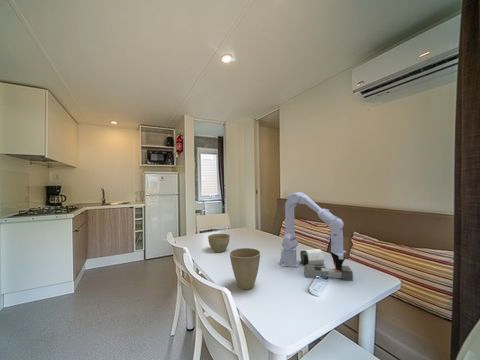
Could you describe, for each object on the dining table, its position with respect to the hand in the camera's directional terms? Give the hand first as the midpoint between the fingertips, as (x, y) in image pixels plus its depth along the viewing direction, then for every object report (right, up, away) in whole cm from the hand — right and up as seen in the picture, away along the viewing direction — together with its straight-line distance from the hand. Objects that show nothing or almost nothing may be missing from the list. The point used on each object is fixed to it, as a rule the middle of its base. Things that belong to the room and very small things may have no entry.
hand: (337, 268), depth 107 cm
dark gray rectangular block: (+4, -4, -1) cm, 6 cm away
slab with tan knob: (-1, -4, 0) cm, 4 cm away
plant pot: (-48, -5, -7) cm, 49 cm away
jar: (-1, -1, +18) cm, 18 cm away
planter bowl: (-66, -7, +47) cm, 81 cm away
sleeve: (-10, -5, +2) cm, 11 cm away
